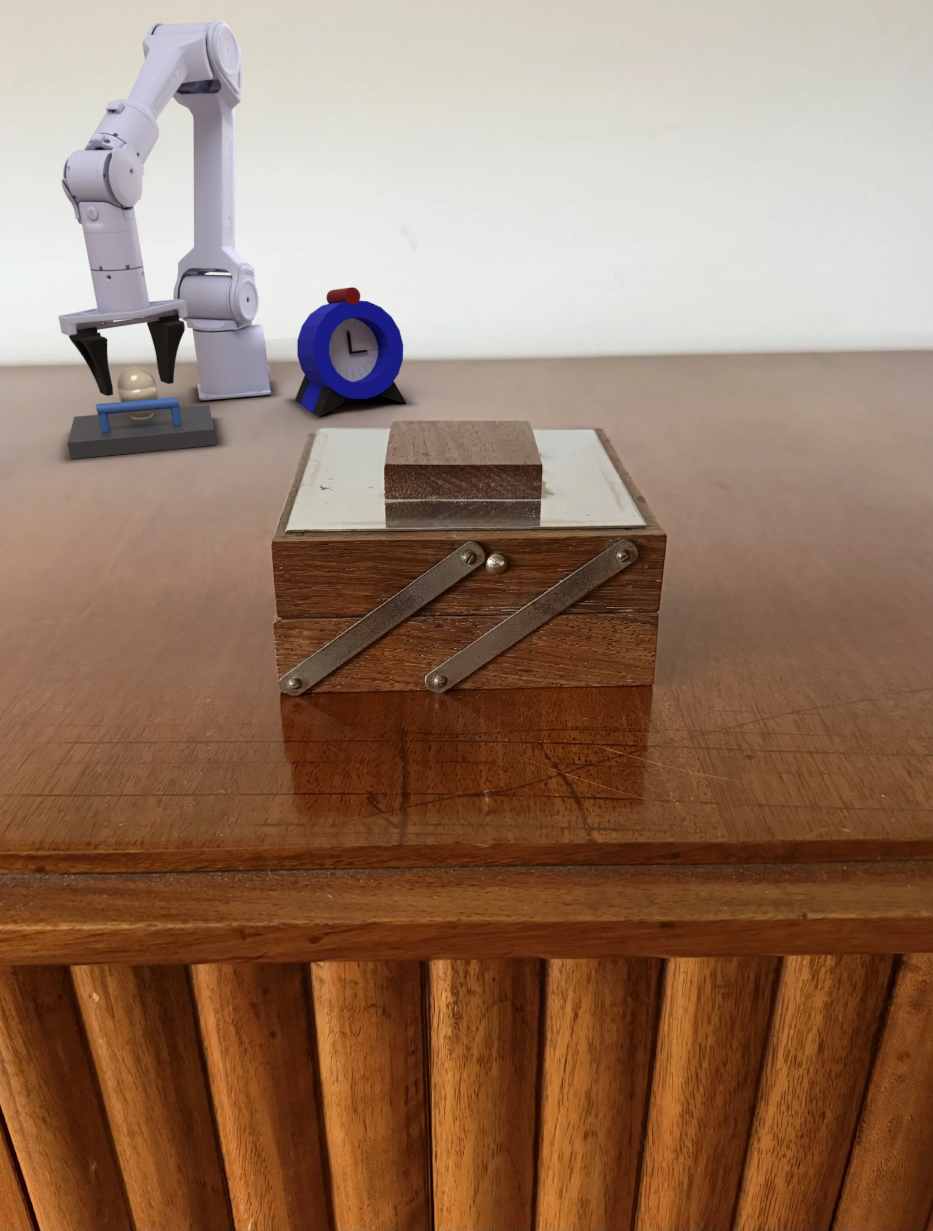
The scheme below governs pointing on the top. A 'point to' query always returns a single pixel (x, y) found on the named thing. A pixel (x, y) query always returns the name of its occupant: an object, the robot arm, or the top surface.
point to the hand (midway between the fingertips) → (137, 387)
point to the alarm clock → (348, 353)
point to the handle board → (140, 429)
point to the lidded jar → (137, 389)
